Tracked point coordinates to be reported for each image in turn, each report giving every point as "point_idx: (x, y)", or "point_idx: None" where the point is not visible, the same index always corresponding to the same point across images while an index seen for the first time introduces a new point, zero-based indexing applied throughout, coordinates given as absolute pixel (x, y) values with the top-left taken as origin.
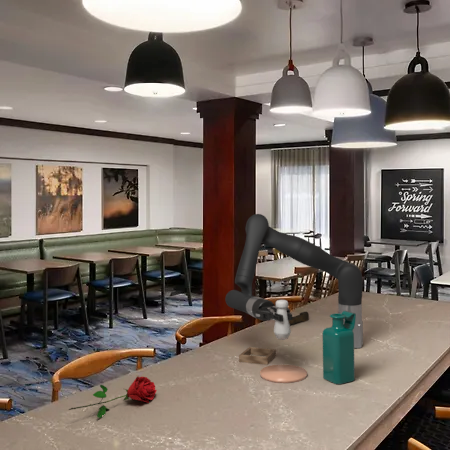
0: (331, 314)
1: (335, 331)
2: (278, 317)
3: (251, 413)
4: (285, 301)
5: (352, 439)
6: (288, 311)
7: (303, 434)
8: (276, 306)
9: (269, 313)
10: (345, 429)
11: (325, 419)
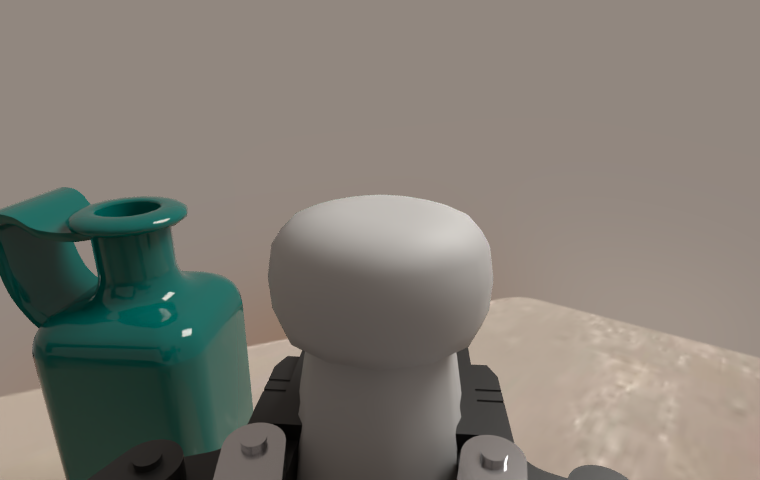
0: (137, 218)
1: (215, 278)
2: (491, 384)
3: (741, 469)
4: (363, 197)
5: (498, 300)
6: (181, 455)
7: (593, 339)
8: (486, 307)
9: (595, 466)
10: (486, 320)
11: (502, 356)
